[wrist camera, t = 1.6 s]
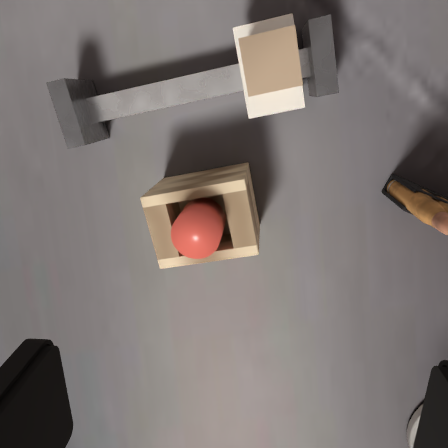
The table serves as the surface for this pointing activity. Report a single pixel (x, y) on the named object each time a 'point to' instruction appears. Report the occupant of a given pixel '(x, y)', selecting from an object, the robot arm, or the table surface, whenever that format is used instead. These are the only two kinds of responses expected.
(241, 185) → the wooden box
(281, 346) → the table surface
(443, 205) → the ammunition clip
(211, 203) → the button
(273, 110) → the carriage
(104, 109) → the rail
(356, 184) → the table surface
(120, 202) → the table surface
